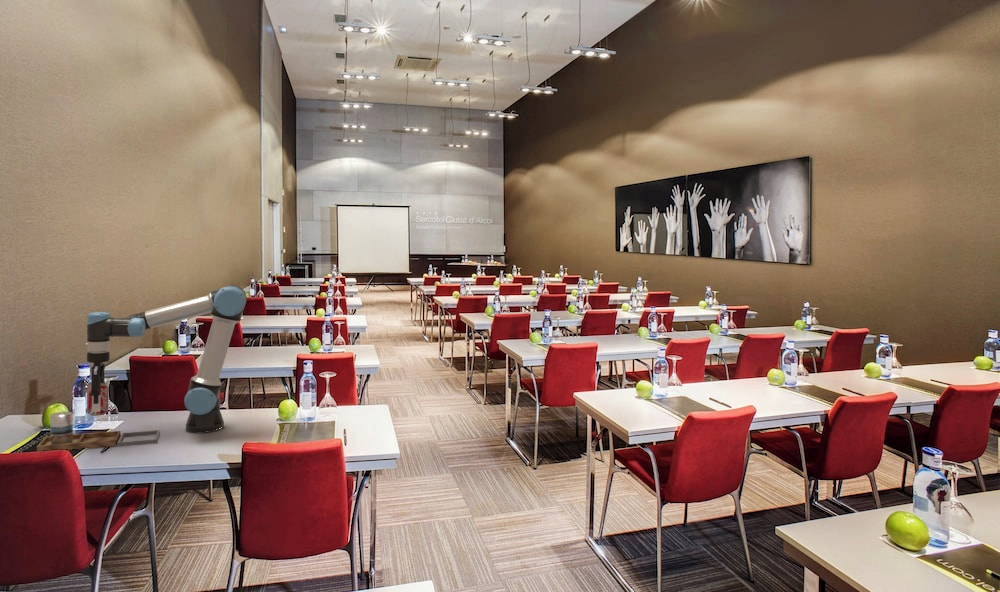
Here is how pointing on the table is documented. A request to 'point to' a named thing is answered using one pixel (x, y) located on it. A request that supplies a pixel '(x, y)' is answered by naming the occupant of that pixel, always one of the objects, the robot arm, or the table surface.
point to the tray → (138, 440)
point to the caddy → (83, 441)
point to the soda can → (103, 400)
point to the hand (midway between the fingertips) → (97, 408)
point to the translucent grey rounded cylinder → (61, 428)
